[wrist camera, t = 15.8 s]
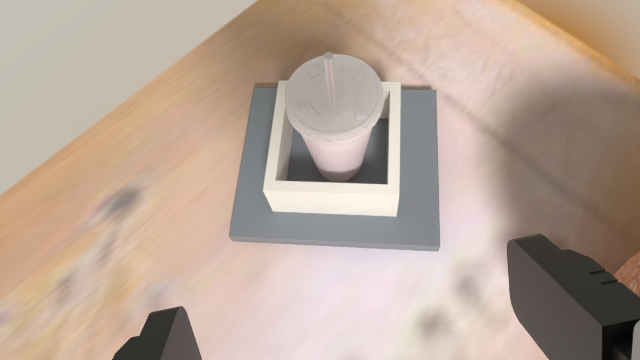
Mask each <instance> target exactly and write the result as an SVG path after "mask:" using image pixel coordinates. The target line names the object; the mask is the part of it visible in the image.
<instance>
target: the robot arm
mask: <svg viewBox="0 0 640 360" xmlns="http://www.w3.org/2000/svg"><path fill="white" fill-rule="evenodd" d="M507 260H508V275H509V290H510V299H511V304H512V307H513V310H514V312H515V315H516V317H517V318H518V320H519V322H520V323H521V324H522V325H523V327H524V328H525V329H526V331H527V332H528V333H529V334H530V336H531V337H532V338H533V340H534V341H535V342H536V343H537V345H538V346H539V347H540V349H541V350H542V351H543V352H544V354H545V355H546V356H547V358H548V359H549V360H640V297H639V296H638V295H637V294H635V293H634V292H633V291H632V290H630V289H629V288H628V287H626V286H625V285H624V284H623V283H621V282H618V279H616V278H615V277H614V276H612V275H611V274H610V273H609V272H605V269H604V268H602V267H601V266H600V265H598V264H597V263H596V262H595V261H593V260H592V259H591V258H589V257H587V256H584V255H582V254H579V253H577V252H574V251H572V250H569V249H567V250H562V251H561V250H560V249H559V248H558V247H557V246H555V245H554V244H553V243H552V242H551V241H549V240H548V239H547V238H546V237H545V236H543V235H541V234H537V235H532V236H527V237H522V238H517V239H513V240H509V241H508V244H507ZM112 360H202V358H201V355H200V352H199V349H198V346H197V343H196V339H195V336H194V333H193V330H192V327H191V324H190V321H189V318H188V315H187V312H186V310H185V309H184V308H183V307H182V306H180V307H175V308H170V309H165V310H160V311H155V312H151V313H150V314H149V316H148V318H147V320H146V322H145V325H144V327H143V329H142V331H141V334H140V336H136V337H131V338H130V339H129V340H128V341H127V342H126V343H125V344H124V345H123V346H122V347H121V348H120V349H119V350H118V351H117V352H116V353H115V355H114V357H113V359H112Z"/></svg>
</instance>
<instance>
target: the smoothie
mask: <svg viewBox="0 0 640 360" xmlns="http://www.w3.org/2000/svg"><path fill="white" fill-rule="evenodd" d="M284 99H285V109H286V113H287V116H288V119H289V121H290V122H291V124H292V125H293V127H294V128H295V129H296V130H297V131H298V132H299V133H301V135H302V137H303V139H304V141H305V144H306V146H307V148H308V150H309V152H310V154H311V156H312V158H313V160H314V162H315V164H316V166H317V168H318V170H319V172H320V174H321V175H322V176H323V177H325V178H326V179H328V180H330V181H334V182H343V181H347V180H350V179H351V178H353V177H354V176H355V175H356V174H357V173H358V172H359V170H360V168H361V165H362V161H363V158H364V155H365V151H366V148H367V144H368V141H369V138H370V134H371V131H372V128H373V126H374V125H375V124H376V122H377V121H378V119H379V117H380V116H381V113H382V109H383V104H384V101H383V87H382V83H381V80H380V78H379V76H378V75H377V73H376V72H375V71H374V70H373V68H372V67H370V66H369V65H368V64H367V63H365V62H364V61H362V60H360V59H358V58H356V57H353V56H349V55H344V54H333V53H332V52H326V53H324V55H322V56H318V57H315V58H313V59H311V60H309V61H307V62H305V63H304V64H302V65H301V66H300V67H299V68H297V69H296V70H295V72H294V73H293V74H292V75H291V77H290V78H289V80H288V82H287V85H286V88H285V94H284Z"/></svg>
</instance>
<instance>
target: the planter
mask: <svg viewBox="0 0 640 360" xmlns="http://www.w3.org/2000/svg"><path fill="white" fill-rule="evenodd" d="M613 276H614V277H615V278H616V279H618V282H621V283H623V284H624V285H625V286H626V287H628V288H629V289H630V290H632V291H633V292H634V293H635V294H637V295H638V296H639V297H640V251H639V252H638V253H636V254H635V255H634V256H633V257H631V258H630V259H629V260H628V261H627V262H625V263H624V264H623V265H622V266H621V267H620V269H619V270H618V271H617V272H616V273H615V274H614V275H613Z"/></svg>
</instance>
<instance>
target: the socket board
mask: <svg viewBox="0 0 640 360" xmlns="http://www.w3.org/2000/svg"><path fill="white" fill-rule="evenodd" d="M287 82H288V81H279V82H278V88H254V90H253V96H252V102H251V108H250V114H249V120H248V126H247V132H246V138H245V144H244V149H243V155H242V161H241V167H240V173H239V179H238V185H237V191H236V197H235V203H234V209H233V215H232V220H231V226H230V232H229V237H230V238H231V239H232V241H241V242H261V243H281V244H301V245H321V246H341V247H361V248H381V249H401V250H421V251H438V250H439V248H440V223H439V183H438V142H437V102H436V90H409V89H401V82H381V83H382V87H383V101H384V104H383V109H382V113H381V116H380V117H379V119H378V121H377V122H376V124H375V125H374V126H373V128H372V131H371V134H370V138H369V141H368V144H367V148H366V151H365V155H364V158H363V161H362V165H361V168H360V170H359V172H358V173H357V174H356V175H355V176H354V177H353V178H351V179H350V180H347V181H343V182H334V181H330V180H328V179H326V178H325V177H323V176H322V175H321V174H320V172H319V170H318V168H317V166H316V164H315V162H314V160H313V158H312V156H311V154H310V152H309V150H308V148H307V146H306V144H305V141H304V139H303V137H302V135H301V133H299V132H298V131H297V130H296V129H295V128H294V127H293V125H292V124H291V122H290V121H289V119H288V116H287V113H286V109H285V99H284V94H285V88H286V85H287Z"/></svg>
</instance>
